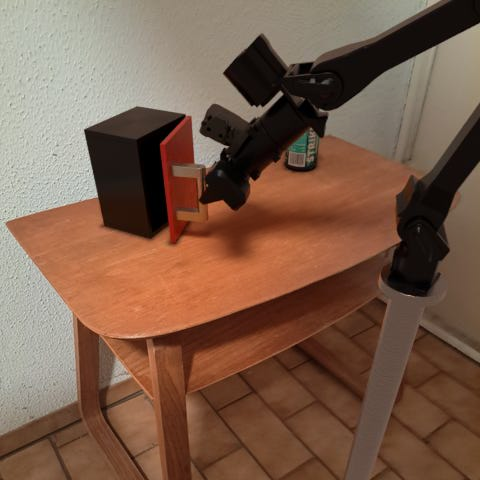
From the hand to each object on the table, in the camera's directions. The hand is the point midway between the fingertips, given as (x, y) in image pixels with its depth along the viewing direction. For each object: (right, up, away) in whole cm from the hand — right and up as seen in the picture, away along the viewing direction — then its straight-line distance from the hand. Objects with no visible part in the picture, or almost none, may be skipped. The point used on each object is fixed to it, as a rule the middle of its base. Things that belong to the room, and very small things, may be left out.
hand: (202, 199), depth 74 cm
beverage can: (+19, +15, +29) cm, 38 cm away
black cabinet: (-11, 0, +12) cm, 16 cm away
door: (-1, -2, +9) cm, 9 cm away
